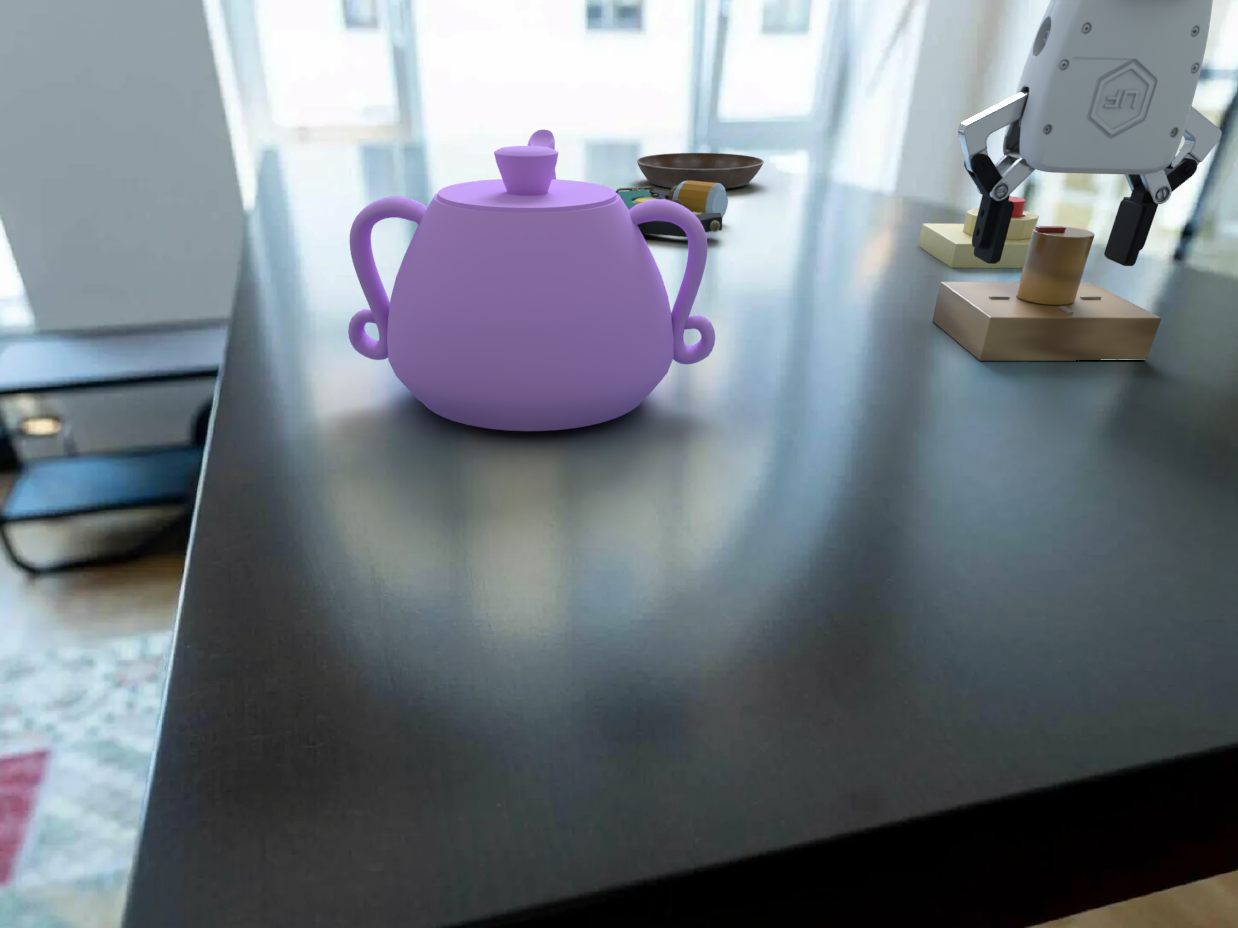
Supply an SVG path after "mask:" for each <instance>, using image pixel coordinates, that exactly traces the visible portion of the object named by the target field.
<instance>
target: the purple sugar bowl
mask: <svg viewBox="0 0 1238 928" xmlns="http://www.w3.org/2000/svg"><path fill="white" fill-rule="evenodd" d="M493 154H494V159H495V163H496V166H497V169H498V171H499V174H500V177H501V178H498V179H497V178H496V179H483V180H474V181H473V180H472V181H466V182H460V183H454V184H451V185H448V186H444V187H443V188H440V190H438V191H437V193H436V194H434V195H433V197H432V199H431V201H430V202H429V204H428V206H427V205H425V204H423V203H422V202H421V201H417V200H415V199H413V198H409V197H405V196H401V195H400V196H397V195H396V196H395V195H393V196H391V195H390V196H387V197H382V198H380V199H377V200H374V201H372V202H371V203H369V204H368V205H366V206H365V207H364V208H363V209H362V210H360V212H358V214H357V215H356V216H355V218H354V219H353V222H352V223H351V227H350V231H349V251H350V256H351V261H352V264H353V267H354V271H355V274H356V277H357V279H358V282H359V285H360V287H361V289H362V293H363V295H364V297H365V299H366V302H367V305H368V306H369V309H367V308H364V309H361V310H359V311H357V312H356V313H355V314H354V315H352V316H351V318H350V322H349V323H348V330H347V332H348V339H349V342H350V344H351V346H352V347H353V349H354V350H355V351H356V352H357V353H358V354H360V355H362V356H363V357H366V358H367V359H370V360H375V361H382V360H383V361H384V360H386V359H387V360H388V363H389V365H390V367H391V369H392V371H393V373H394V375H395V377H396V378H397V379H398V380H399V382H401V383H402V384H403V386H404V387H405V388H406V389H407V390H408V391H409V392H410V393H411V394H412V395H413V396H414V397H415V398H416V399H417V400H418V401H419V402H420V403H422V404H423V405H424V406H425V407H426V408H427V409H428V410H429V411H431V412H432V413H434V414H436V415H438V416H440V417H442V418H444V419H446V420H449V421H453V422H456V423H459V424H463V425H466V426H472V427H476V428H481V429H482V428H483V429H490V430H498V431H499V430H500V431H512V432H546V431H547V432H548V431H549V432H550V431H562V430H569V429H577V428H583V427H589V426H593V425H598V424H601V423H605V422H608V421H611V420H615V419H617V418H620V417H623V416H624V415H626V414H628V413H630V412H632V411H633V410H634V409H636V408H637V407H639V405H641V404H642V402H643V401H644V400H645V399H646V398H647V397H648V396H649V395H650V394H651V393H652V392H653V390H655V388H656V387H658V385H659V384H660V383H661V382H662V381H663V379H664V378H665V376H667V374H668V373H669V370H670V368H671V366H672V363H673V361H674V362H676V363H678V364H679V365H693V364H697V363H699V362H701V361H704V360H705V359H706V358H708V357H709V356H710V354H711V353H712V352H713V349H714V347H715V343H716V332H715V328H714V325H713V324H712V322H711V320H709V319H708V318H707V317H706V316H704V315H701V314H693V315H690V314H691V311H692V309H693V306H694V304H695V301H696V298H697V295H698V293H699V290H700V286H701V283H702V279H703V277H704V273H705V269H706V263H707V259H708V238H707V232H706V233H705V230H704V228H703V225H702V224H701V222H700V220H699V219H698V218H697V217H696V216H695V215H694V214H693V213H692V212H691V211H690V210H689V209H687V208H685V207H684V206H682V205H680V204H678V203H676V202H673V201H669V200H663V199H654V200H648V201H645V202H642V203H639V204H637V205H635V206H634V207H632V208H631V209H630V210H628V208H627V206H626V205H625V203H624V202H623V200H622V199H621V197H620V195H618V194H617V193H616V190H614V189H613V188H611V187H609V186H605V185H603V184H599V183H593V182H586V181H580V180H570V179H569V180H568V179H557V173H556V166H557V163H558V158H559V151H557V150H556V140H555V135H554V133H553V132H552V131H551V130H549V129H539V130H536V131H535V132H533V133H532V134H531V135H530V138H529V139H528V142H527V145H512V146H502V147H500V148H498V149H496V150H495V151H494V152H493ZM390 218H393V219H394V218H395V219H396V218H399V219H401V220H407V221H411V222H414V223H416V224H417V227H416V229H415V231H414V234H413V235H412V238H411V239H410V242H409V244H408V246H407V249H406V251H405V253H404V255H403V258H402V261H401V263H400V266H399V268H398V271H397V273H396V277H395V280H394V284H393V289H392V291H391V295H390V298H389V296H388V294H387V292H386V291H387V290H386V289H385V286H384V284H383V281H382V278H381V276H380V273H379V270H378V267H377V264H376V261H375V257H374V254H373V247H372V231H373V228H374V226H375V225H376V224H377V223H378V222H380V221H382V220H385V219H390ZM655 220H661V221H668V222H671V223H674V224H676V225H678V226H679V227H681V228H682V229H683V230H684V231H685V233H686V235H687V237H686V238H687V245H688V247H687V248H688V250H687V251H688V252H687V259H686V264H685V269H684V274H683V278H682V281H681V284H680V287H679V290H678V293H677V296H676V298H675V301H674V303H673V306H672V309H671V305H670V300H669V296H668V292H667V289H666V286H665V282H664V278H663V276H662V274H661V271H660V269H659V266H658V264H657V262H656V260H655V257H654V254H653V253H652V251H651V249H650V247H649V245H648V243H647V241H646V239H645V237H644V235H642V233H641V232H640V230H639V228H638V226H637V225H638V224H640V223H645V222H649V221H655ZM367 323H370V324H374V325H376V327H377V331H378V340H376V339H373V338H372V337H370V335H369V334H367V332H366V330H365V329H366V324H367ZM693 329H694V330H697V331H699V333H700V340H699V341H698V342H695V344H692V345H691V344H690V345H688V344H686V343H685V340H684V337H685V336H684V334H685V330H693Z"/></svg>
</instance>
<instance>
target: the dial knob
mask: <svg viewBox="0 0 1238 928" xmlns="http://www.w3.org/2000/svg"><path fill="white" fill-rule="evenodd" d="M1095 236H1096V235H1095V233H1094V232H1093V231H1090V230H1088V229H1085V228H1079V227H1071V226H1063V225H1038V226H1036V228H1034V229H1033V232H1032V236H1031V240H1030V243H1029V247H1028V251H1027V255H1026V258H1025V262H1024V266H1023V268H1022V270H1021V273H1020V274H1021V275H1020V278H1019V281H1018V282H1019V285H1018V289H1017V292H1016V296H1017V297H1018V298H1020V299H1022V300H1025V301H1029V302H1033V303H1039V304H1047V305H1066V304H1071V303H1073V302H1074V301H1075V299H1076V295H1077V292H1078V289H1079V285H1080V282H1082V278H1083V275H1084V272H1085V269H1086V265H1087V262H1088V258H1089V255H1090V251H1091V248H1092V245H1093V242H1094V239H1095Z"/></svg>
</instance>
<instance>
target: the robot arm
mask: <svg viewBox="0 0 1238 928" xmlns="http://www.w3.org/2000/svg"><path fill="white" fill-rule="evenodd" d="M1213 2H1214V0H1049V2H1048V5H1047V7H1046V9H1045V11H1044V14H1043V16H1042V18H1041V21H1040V23H1039V26H1038V28H1037V30H1036V33H1035V35H1034V38H1033V41H1032V44H1031V46H1030V48H1029V52H1028V55H1027V56H1026V60H1025V63H1024V66H1023V68H1022V72H1021V75H1020V78H1019V82H1018V84H1017V87H1016V91H1015V93H1014V95H1012V96H1011V97H1008V98H1006V99H1004V100H1003V101H1001V102H998V103H997V104H995V105H993V106H991V107H989V108H987V109H985V110H983V111H981V112H979V113H977V114H975V115H973V116H971V117H969V118H968V119H965V120H963V121H962V122H961V123H960V124H959V125H958V128H957V135H958V139H959V144H960V148H961V153H962V156H963V159H964V160H963V161H964V162H963V167H964V169H965V170H966V172H967V173H968V176H970V179H971V180H972V182H973V183H974V185H975V186H976V190H977V192H978V193H979V194H980V195H981V199H980V203H979V207H978V208H979V211H978V215H977V219H976V224H975V228H974V232H973V236H972V246H973V247H974V256H976V257H977V258H979V259H981V260H982V261H984V262H986V263H988V264H996V263H997V262H999V261H1000V259H1001V256H1002V252H1003V248H1004V244H1005V240H1006V236H1007V233H1008V229H1009V225H1010V221H1011V217H1012V213H1013V210H1014V203H1013V202H1012V201H1010V200H1009V196H1011V194H1012V192H1014V191H1015V190H1016V189H1017V188H1018V187H1019V186H1020V185H1021V184H1022V183H1023V182H1024V181H1025V180H1026V179H1027V178H1028V177H1029V176H1030V175H1031V174H1032V173H1034V172H1035V170H1036V171H1039V172H1044V173H1053V174H1054V173H1056V174H1084V175H1085V174H1088V175H1089V174H1090V175H1091V174H1092V175H1093V174H1094V175H1124V176H1125V178H1126V182H1127V184H1128V186H1129V188H1130V190H1131V193H1130V196H1123V198H1122V200H1120V202H1119V205H1118V208H1117V211H1116V215H1115V218H1114V221H1113V224H1112V227H1111V231H1110V234H1109V236H1108V239H1107V242H1106V245H1105V249H1104V251H1103V254H1104V255H1103V256H1104V257H1105V258H1106V259H1107V260H1109V261H1112V262H1114V263H1116V264H1119V265H1121V266H1122V267H1123V266H1124V267H1133V266H1135V265H1136V262H1137V260H1138V257H1139V254H1140V252H1141V251H1142V250H1143V248H1144V247H1145V245H1146V242H1147V239H1148V236H1149V233H1150V230H1151V228H1152V226H1153V225H1152V224H1153V221H1154V220H1155V219H1154V218H1155V216H1156V213H1157V210H1158V207H1159V205H1163V204H1165V203H1167V202H1168V201H1169V199H1170V198H1171V196H1172V193H1173V192H1175V190H1177V189H1178V188H1179V187H1180V186H1182V185H1183V184H1184V183H1185V182H1187V181H1188V180H1189V179H1190V178H1192V177H1193V176H1194V175H1195V173H1196V172H1197V170H1198V165H1199V164H1200V163H1202V162H1203V161H1204V160H1205V159H1206V157H1207V156H1208V155H1209V154H1210V153H1211V152H1212V151H1213V149H1214V147H1215V146H1216V145H1217V144H1218V143H1219V141H1220V140H1221V138H1222V134H1223V131H1222V130H1221V128H1220V127H1218V126H1217V125H1215V123H1213V122H1212V121H1211V120H1209V119H1208V118H1207V117H1206V116H1204V115H1203V114H1202V113H1201V112H1200V111H1199V110H1197V109H1196V108H1195V107H1194V106H1192V105H1193V103H1194V99H1195V95H1196V91H1197V88H1198V83H1199V79H1200V75H1201V70H1202V67H1203V62H1204V59H1205V54H1206V48H1207V42H1208V37H1209V32H1210V24H1211V19H1212V9H1213ZM1003 128H1005V132H1004V137H1003V142H1002V153H1003V155H1002V157H1000V159H999V160H997V162H996V163H994V162H993V160H992V159H991V157H990V156H989V153H988V143H987V142H988V138H989V137H990V135H991V134H993V133H995V132H997V131H999V130H1001V129H1003ZM1183 138H1184V141H1183V145H1182V147H1181V148H1180V145H1181V142H1182V139H1183ZM1178 150H1179V152H1178Z"/></svg>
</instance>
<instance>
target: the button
mask: <svg viewBox="0 0 1238 928" xmlns="http://www.w3.org/2000/svg"><path fill="white" fill-rule="evenodd" d="M1009 200H1010V201H1012V202H1013V203H1014V210H1013V213H1012V217H1011V218H1019V217H1022V215H1023V211H1025V206H1026V203H1027V200H1026V198H1023V197H1018V196H1011V195H1010V196H1009Z"/></svg>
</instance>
